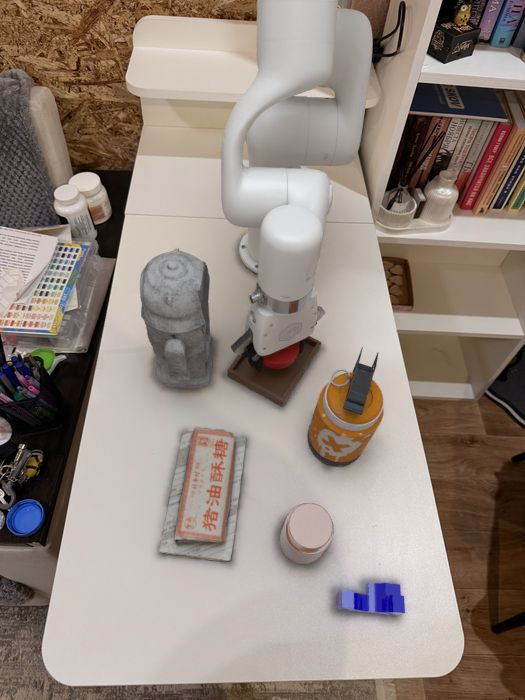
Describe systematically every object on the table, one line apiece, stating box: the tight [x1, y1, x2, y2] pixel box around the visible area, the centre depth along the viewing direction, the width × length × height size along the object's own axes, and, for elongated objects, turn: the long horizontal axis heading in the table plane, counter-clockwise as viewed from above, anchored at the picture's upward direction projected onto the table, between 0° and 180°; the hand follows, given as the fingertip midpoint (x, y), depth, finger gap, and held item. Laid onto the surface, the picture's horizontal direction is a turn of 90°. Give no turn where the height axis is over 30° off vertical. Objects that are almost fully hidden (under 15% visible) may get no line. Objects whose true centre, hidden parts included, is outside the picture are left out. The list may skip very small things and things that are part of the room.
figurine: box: [139, 247, 215, 389], centre depth 76 cm, size 10×14×25 cm
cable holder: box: [336, 582, 406, 616], centre depth 67 cm, size 8×4×4 cm, turn 85°
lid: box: [262, 341, 300, 369], centre depth 82 cm, size 7×7×2 cm
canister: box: [307, 346, 385, 467], centre depth 72 cm, size 9×11×20 cm
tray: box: [227, 335, 322, 407], centre depth 86 cm, size 13×11×2 cm
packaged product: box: [158, 425, 247, 562], centre depth 73 cm, size 18×5×10 cm
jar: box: [279, 502, 335, 565], centre depth 68 cm, size 6×6×10 cm
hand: (275, 355), depth 84 cm, fingers closed on lid, 7 cm apart
